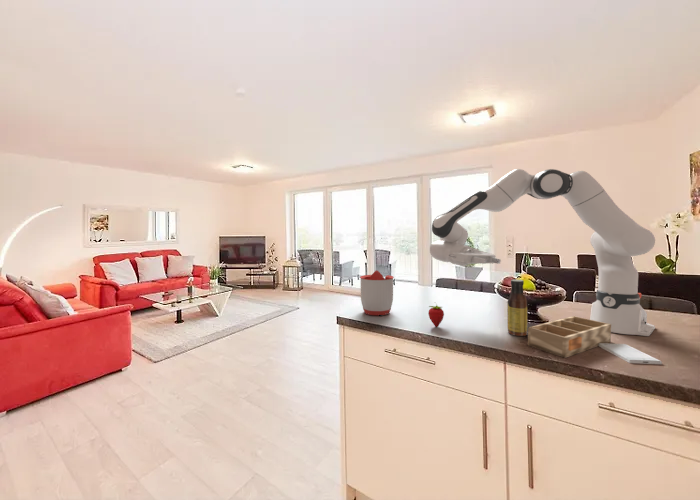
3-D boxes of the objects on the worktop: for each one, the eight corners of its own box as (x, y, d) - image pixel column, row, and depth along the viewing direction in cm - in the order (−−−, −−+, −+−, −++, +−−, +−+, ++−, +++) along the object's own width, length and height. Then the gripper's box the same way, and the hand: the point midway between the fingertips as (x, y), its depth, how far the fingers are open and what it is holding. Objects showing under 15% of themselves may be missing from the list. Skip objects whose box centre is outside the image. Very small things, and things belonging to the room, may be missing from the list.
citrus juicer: (398, 309, 143) (398, 268, 142) (388, 319, 127) (388, 273, 126) (368, 306, 150) (368, 267, 148) (354, 315, 134) (354, 271, 133)
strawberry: (428, 329, 113) (428, 303, 113) (428, 323, 121) (428, 299, 120) (444, 330, 112) (444, 304, 111) (443, 324, 119) (443, 300, 118)
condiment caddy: (573, 332, 109) (573, 316, 109) (612, 342, 99) (613, 324, 98) (527, 345, 97) (528, 327, 96) (566, 358, 86) (567, 338, 86)
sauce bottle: (516, 330, 111) (517, 278, 110) (531, 335, 105) (532, 280, 104) (502, 332, 109) (503, 279, 108) (517, 338, 103) (518, 281, 102)
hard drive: (598, 343, 95) (629, 359, 83) (626, 343, 94) (662, 360, 82) (598, 348, 95) (629, 364, 83) (626, 348, 94) (662, 366, 82)
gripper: (447, 247, 119) (477, 253, 108) (477, 248, 130) (508, 253, 119) (444, 262, 120) (474, 270, 108) (475, 262, 131) (505, 269, 119)
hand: (492, 261), depth 114 cm, fingers open, 8 cm apart
